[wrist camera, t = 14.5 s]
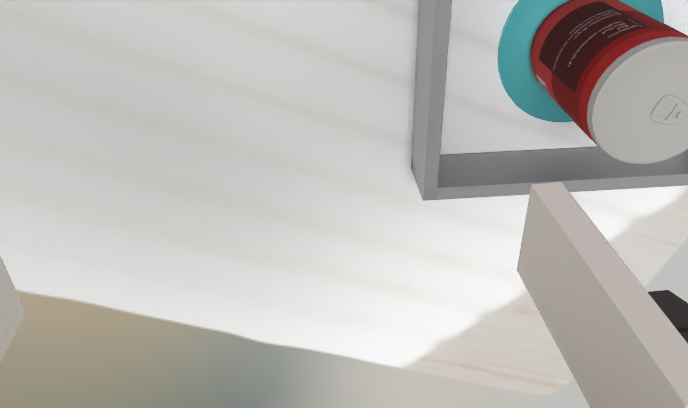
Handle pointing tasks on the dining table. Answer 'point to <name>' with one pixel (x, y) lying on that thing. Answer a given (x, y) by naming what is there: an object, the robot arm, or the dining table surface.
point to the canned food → (616, 77)
